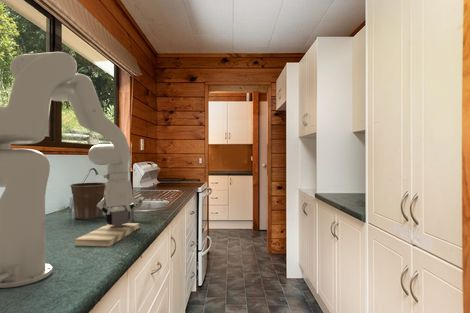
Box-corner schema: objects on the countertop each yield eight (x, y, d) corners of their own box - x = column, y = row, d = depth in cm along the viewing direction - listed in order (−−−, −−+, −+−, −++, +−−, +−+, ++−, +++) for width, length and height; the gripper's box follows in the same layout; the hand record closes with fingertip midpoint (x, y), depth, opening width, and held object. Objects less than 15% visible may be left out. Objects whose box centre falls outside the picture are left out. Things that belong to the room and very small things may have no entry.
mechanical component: (140, 221, 131) (140, 199, 131) (119, 220, 133) (119, 199, 133) (143, 220, 134) (143, 198, 134) (123, 219, 136) (123, 198, 136)
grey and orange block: (128, 223, 114) (128, 209, 114) (112, 225, 110) (112, 211, 110) (123, 220, 119) (123, 207, 119) (107, 222, 115) (107, 209, 115)
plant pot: (109, 218, 138) (108, 184, 138) (70, 222, 130) (69, 186, 130) (105, 212, 152) (105, 181, 152) (70, 215, 145) (70, 183, 144)
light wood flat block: (109, 246, 96) (109, 229, 96) (74, 245, 97) (74, 228, 97) (139, 228, 120) (139, 214, 120) (111, 227, 121) (111, 214, 121)
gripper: (97, 178, 106) (97, 228, 106) (142, 176, 117) (143, 221, 117) (91, 177, 111) (91, 224, 112) (135, 175, 123) (135, 218, 123)
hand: (118, 222), depth 114 cm, fingers closed on grey and orange block, 6 cm apart
